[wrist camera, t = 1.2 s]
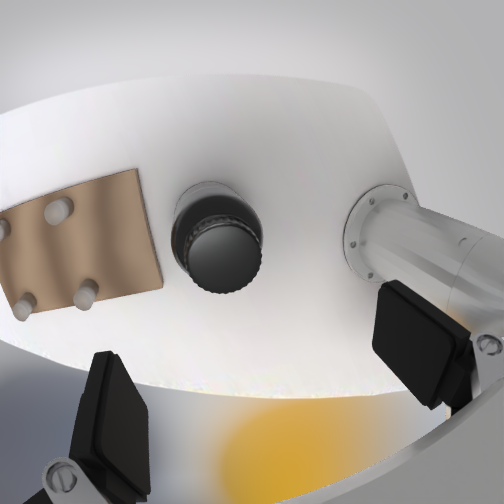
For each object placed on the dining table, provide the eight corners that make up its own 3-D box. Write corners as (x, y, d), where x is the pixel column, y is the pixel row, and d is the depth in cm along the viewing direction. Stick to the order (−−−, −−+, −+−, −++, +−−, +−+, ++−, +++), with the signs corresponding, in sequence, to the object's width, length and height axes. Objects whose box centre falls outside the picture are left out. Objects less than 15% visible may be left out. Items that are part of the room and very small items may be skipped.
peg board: (137, 168, 25) (128, 171, 21) (163, 281, 29) (161, 302, 25) (-14, 218, 22) (-35, 229, 17) (19, 310, 26) (5, 330, 22)
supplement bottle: (198, 167, 26) (210, 179, 16) (255, 204, 29) (301, 240, 18) (160, 226, 28) (148, 277, 17) (217, 259, 30) (240, 323, 19)
